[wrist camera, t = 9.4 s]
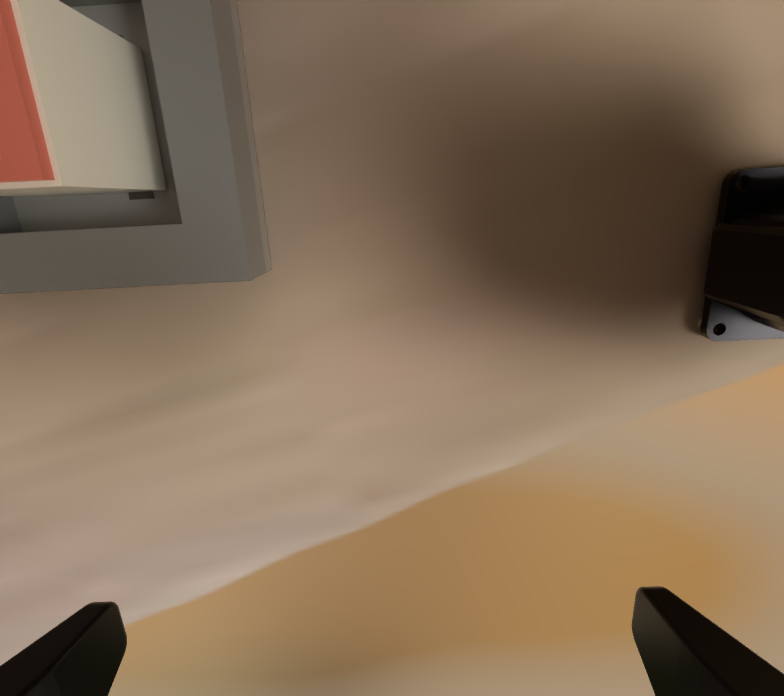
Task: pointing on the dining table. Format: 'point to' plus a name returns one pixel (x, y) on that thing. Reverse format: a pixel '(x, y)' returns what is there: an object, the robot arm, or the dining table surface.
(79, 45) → the plug
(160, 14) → the socket plate
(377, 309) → the dining table surface
